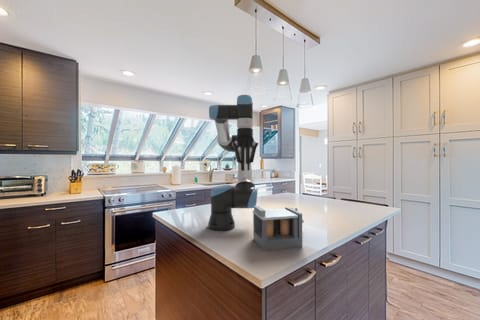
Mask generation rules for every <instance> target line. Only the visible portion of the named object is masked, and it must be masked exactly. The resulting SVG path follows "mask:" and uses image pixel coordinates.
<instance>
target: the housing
mask: <svg viewBox="0 0 480 320" xmlns="http://www.w3.org/2000/svg"><path fill="white" fill-rule="evenodd" d="M292 208H293V207H289V206H285V207H284V209H286V210H288V211H290V212H292V213H294V214H296V215H298V218H290V235H285V236H281V235H280V219H274V220H273V237H267V221H266V220H261V219H260V218H259V217H258V216H257V215H255V214H254V213H253V212H252V215H253V217H252V219H253V224H252V225H253V240H254V241H255V243H256V244H257V245H258V247H259V248H260V249H261V250H262V251H263V252H264V251H265V252H267V251H274V250H282V249H291V248H301V247H303V223H302V219H303V213H302V212H300V211H298V210H297V211H296V210H295V208H293V209H292Z"/></svg>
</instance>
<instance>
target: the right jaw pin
mask: <svg viewBox="0 0 480 320" xmlns="http://www.w3.org/2000/svg"><path fill="white" fill-rule="evenodd" d="M280 235H281V236H285V235H290V218H287V219H280Z"/></svg>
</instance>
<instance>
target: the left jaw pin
mask: <svg viewBox="0 0 480 320" xmlns="http://www.w3.org/2000/svg"><path fill="white" fill-rule="evenodd" d="M266 221H267V237H273V220H266Z"/></svg>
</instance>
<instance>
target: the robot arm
mask: <svg viewBox="0 0 480 320" xmlns="http://www.w3.org/2000/svg"><path fill="white" fill-rule="evenodd" d="M253 104H254V101H253V96H252V95H250V94H239V95H237V98H236V104H213V105H209V107H208V117H209V120H211V121H213V120H214V124H215V129H216V132H217V139H216V140H217V143H218V145H219V147H221V149H223V150H224V151H227V152H230V153H234V154H235V158H236V162H237V182H236V184H235V185H234V186H235V187H232V185H231V184H226V185H225V184H224V185H219V186H218V185H217V186H214V187H212V188H211V191H210V203H211V204H210V215H209V219H208V223H207V227H208V229H210V230H212V231H218V232H220V231H221V232H223V231H228V230H233V229H234V228H235V225H236V224H235V219H234V217H233V213H232V209H247V210H248V209H254V206H257V200H258V191H259V190H258V189H259V188H258V187H257V186H256V185H255V183H254V182H253V172H252V163H254V159H255V156H256V155H255V154H256V152H257V151H256V150H257V148H258V145H259V142H256V141H255V138H254V133H253V132H254V129H253V125H254V121H253V119H254V118H253V111H254V110H253V109H254V108H253V106H254V105H253ZM229 120H230V121H231V120H235V121H236V127H237V129H236V134H235V135H234V134H230V133H231V132H230V124H229Z"/></svg>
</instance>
